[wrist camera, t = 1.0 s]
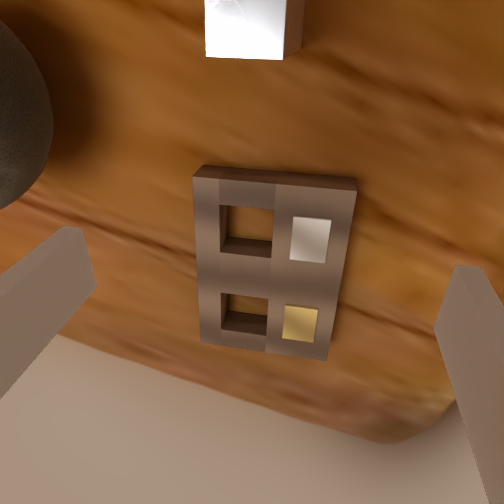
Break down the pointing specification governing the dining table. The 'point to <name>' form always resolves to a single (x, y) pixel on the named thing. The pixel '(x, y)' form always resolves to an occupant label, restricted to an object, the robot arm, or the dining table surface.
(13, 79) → the dark grey round ball
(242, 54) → the plug
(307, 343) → the socket board
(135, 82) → the dining table surface
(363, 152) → the dining table surface
